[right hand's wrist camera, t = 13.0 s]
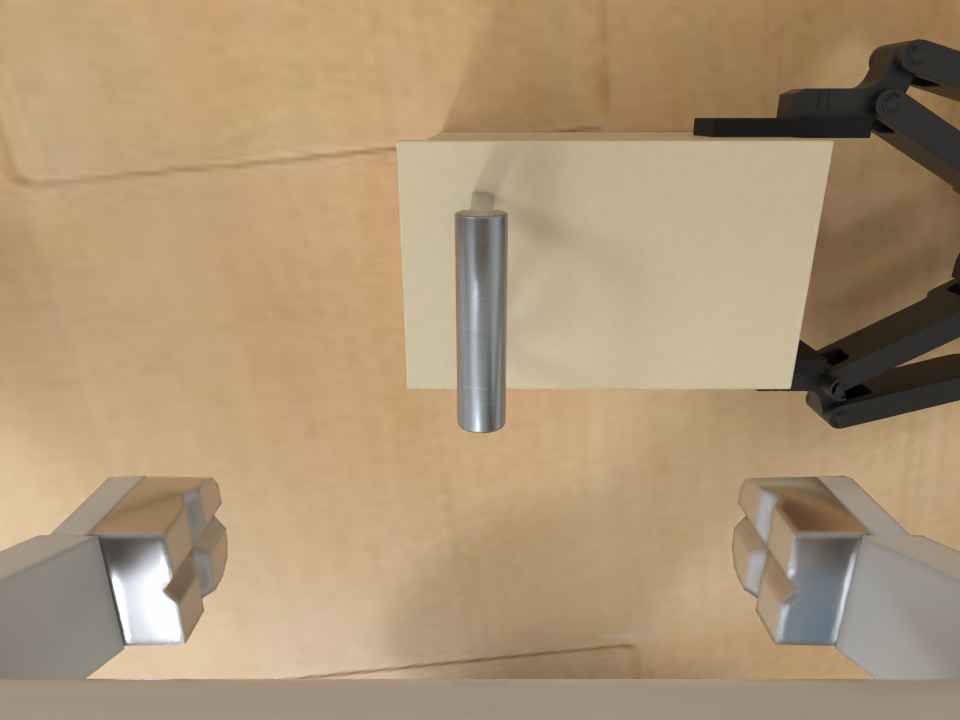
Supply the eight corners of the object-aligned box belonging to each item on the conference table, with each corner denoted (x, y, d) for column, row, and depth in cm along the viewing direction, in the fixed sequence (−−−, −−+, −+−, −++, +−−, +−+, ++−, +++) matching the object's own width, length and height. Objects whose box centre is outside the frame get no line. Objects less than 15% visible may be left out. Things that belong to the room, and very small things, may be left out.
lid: (409, 381, 28) (381, 481, 21) (399, 140, 25) (362, 152, 17) (781, 381, 28) (894, 481, 21) (822, 139, 25) (975, 151, 17)
